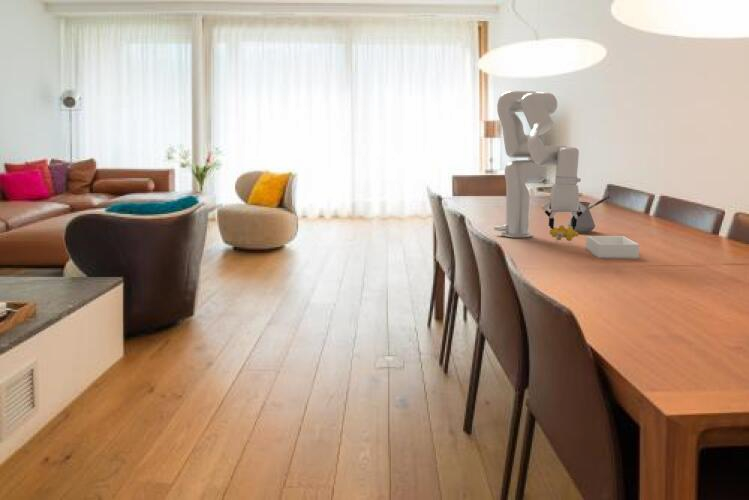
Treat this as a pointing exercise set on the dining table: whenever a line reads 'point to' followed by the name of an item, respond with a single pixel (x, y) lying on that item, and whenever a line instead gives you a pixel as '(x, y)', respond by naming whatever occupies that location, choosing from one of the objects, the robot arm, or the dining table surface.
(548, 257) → the dining table surface
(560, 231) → the pressure relief valve
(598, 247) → the bin
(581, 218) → the coffee pot
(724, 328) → the dining table surface
